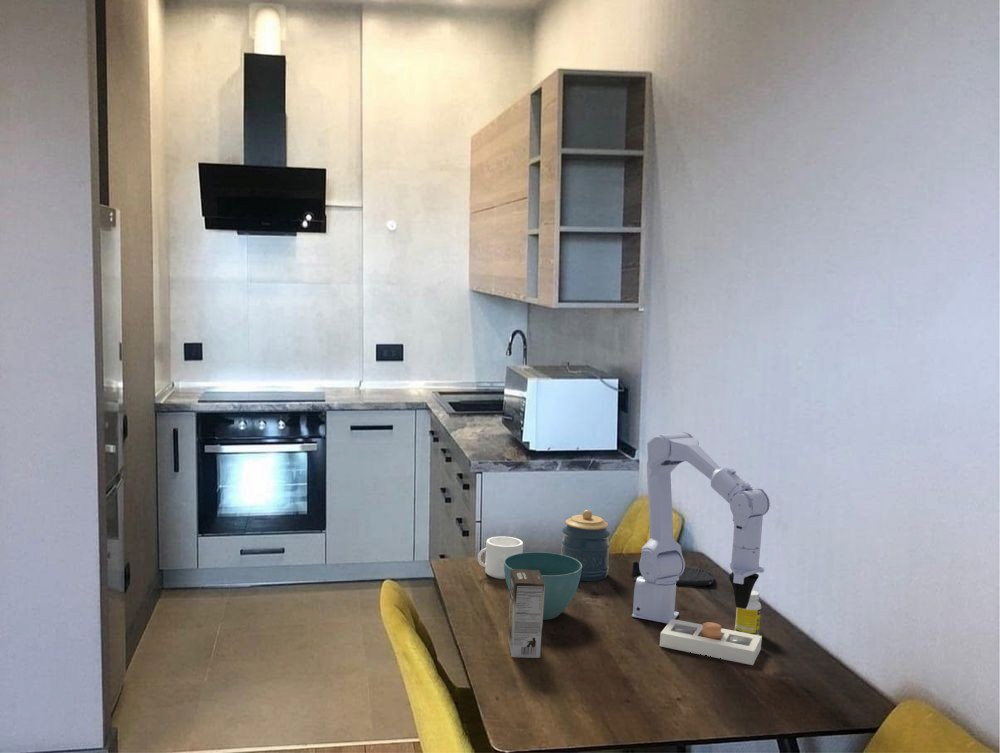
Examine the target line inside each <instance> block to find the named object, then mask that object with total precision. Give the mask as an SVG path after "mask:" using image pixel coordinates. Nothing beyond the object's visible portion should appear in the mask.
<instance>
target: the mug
mask: <svg viewBox="0 0 1000 753" xmlns="http://www.w3.org/2000/svg"><path fill="white" fill-rule="evenodd" d="M485 544H486V545H485V548H482V549H481V550H480V551H479V552H478V554H477V563H479V565H480V566H481V567H483V568H484V571H485V573H486V574H487V575H488V576H489V577H491V578H494V579H500V580H506V578H505V571H504V560H505V559H506V558H507V557H509V556H511V555H515V554H519V553H524V551H523V550H524V542H523V541H522V540H521V539H519V538H517V537H512V536H492V537H490V538H489V537H488V538H487V539H486V542H485ZM483 553H485V558H484V559H485V563H484V562H483V561H482V555H483Z"/></svg>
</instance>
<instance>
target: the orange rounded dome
mask: <svg viewBox="0 0 1000 753" xmlns="http://www.w3.org/2000/svg"><path fill="white" fill-rule="evenodd" d="M702 625H703V626H702V637H705V638H710V639H715V640H720V638H721V628H722V625H721V624H719V623H716V622H712V621H711V622H709V621H707V622H704V623H702Z"/></svg>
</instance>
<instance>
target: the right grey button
mask: <svg viewBox="0 0 1000 753" xmlns="http://www.w3.org/2000/svg"><path fill="white" fill-rule="evenodd" d="M729 642H731V643H736V644H741V645H746V646H748V644H749V641H748V639H746V638H743V637H737V636H734V637H730V641H729Z"/></svg>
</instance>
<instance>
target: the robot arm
mask: <svg viewBox="0 0 1000 753" xmlns="http://www.w3.org/2000/svg"><path fill="white" fill-rule="evenodd" d="M646 444H647V445H646V446H647V448H646V449H647V462H646V478H647V500H648V502H647V503H648V504H647V505H648V521H649V523H648V525H649V527H648V528H649V540H648V541H647V542H645V544H644V545H643V546H642V547H641V555H640V560H639V561H640V562H639V569H640V572H641V575H642V576H643V577H641V576H639V577H638V578H637V580H636V581H635V584H634V589H633V606H632V614H631V617H632V618H638V619H640V620H641V619H643V620H648V621H653V622H658V623H663V624H666V625H667V624H668V623H669V622H670V620H671V619H677V617H678V616H679V615H680V613H679V611H675V610H676V609H675V607H676V595H677V594H676V592H677V585H676V581H678V580H679V576H680V575H682V573H683V572H684V569H685V567H686V562H685V558H684V555H683V553H682V545H681V544H679V542H677V541H676V540H675V539H674V522H673V520H674V519H673V502H672V501H673V500H672V498H673V497H672V496H673V495H672V478H671V474H672V471H674V470H675V469H676V467H677V466H678V465H680V464H682V463H684V462H687V463H689V464H690V466H692V467H694V469H695V470H697V471H698V472H700V474H701V473H702V474H703V475H704V476H705V477H707V478H708V479H709V480H710V487H711V488H712V490H714V491H715V492H716V493H717V494H718V495H719V496H720V497H722V498H723V499H724V500H725V501H726V502H727V503H728V504H729V509H730V512H731V513H732V522H733V524H734V525H733V538H732V550H731V562H730V563H729V564H730V565H729V568H730V570H731V573H730V574H729V577H728V578H729V581H730V583H731V586H732V589H733V594H734V601H735V602H734V603H735V607H736V608H737V607H738V608H743V609H746V608H747V606H748V603H749V599H750V596H751V592H752V590H754V587H755V584H756V583H757V580H758V579H759V577H760V576H759V575H760V574H758V573H764V572H765V567H763V566H760V554H761V543H762V534H763V533H762V530H763V520H764V519H763V518H764V515H766V514H767V513H768V512H769V510H770V507H771V506H770V504H771V503H770V498H769V496H768V494H767V493H766V491H765V490H764V489H762V488H759V487H757V488H754V487H753V486H751V484H750V483H749V482H746V481H745V480H743V478H741V477H740V476H739V475H737V474H736V473H737V470H735V469H734V468H728V467H723V468H722V467H721V466H719V464H718V463H717V462H716V461H715V460H714V459H713V458H712V457H711V456H710V455H709V454H708V453H707V452H706V451H705V450H704V449H703V448H702V447H701V445H700V444H699V439H698V438H696V437H694V436H693V435H692V433H690V432H687V431H685V432H679V433H665V434H662V433H657V434H655V435H653V436H652V437H651V439H650V440H649V441H648V442H647V443H646Z"/></svg>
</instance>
